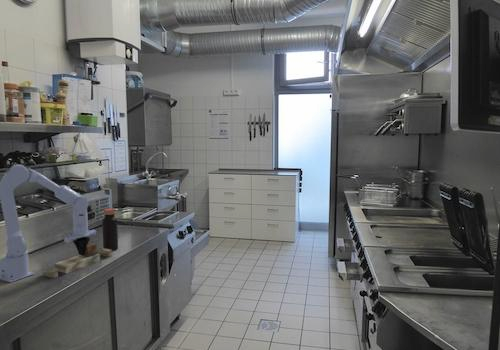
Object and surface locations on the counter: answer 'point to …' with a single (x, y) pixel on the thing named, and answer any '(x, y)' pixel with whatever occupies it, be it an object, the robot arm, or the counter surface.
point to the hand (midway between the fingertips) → (81, 254)
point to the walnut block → (90, 250)
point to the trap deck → (75, 263)
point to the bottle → (110, 230)
